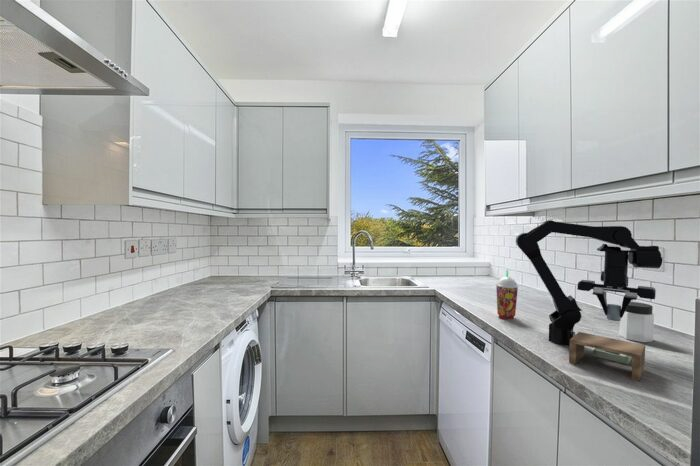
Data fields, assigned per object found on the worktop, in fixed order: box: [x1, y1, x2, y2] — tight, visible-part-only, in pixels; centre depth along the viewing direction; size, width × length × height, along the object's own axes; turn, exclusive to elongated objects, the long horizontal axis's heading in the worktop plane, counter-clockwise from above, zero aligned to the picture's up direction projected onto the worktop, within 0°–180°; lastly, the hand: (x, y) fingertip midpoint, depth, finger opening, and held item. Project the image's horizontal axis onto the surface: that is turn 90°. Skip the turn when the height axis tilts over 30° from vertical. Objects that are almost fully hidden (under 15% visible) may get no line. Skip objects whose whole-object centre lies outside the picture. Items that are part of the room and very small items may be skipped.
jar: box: [619, 301, 655, 343], centre depth 117 cm, size 9×8×12 cm
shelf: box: [568, 331, 646, 382], centre depth 92 cm, size 15×10×7 cm, turn 43°
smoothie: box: [495, 270, 519, 320], centre depth 142 cm, size 8×8×20 cm
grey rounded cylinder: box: [606, 303, 622, 322], centre depth 105 cm, size 3×3×4 cm
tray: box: [592, 348, 632, 365], centre depth 100 cm, size 8×12×3 cm, turn 133°
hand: (613, 316), depth 105 cm, fingers closed on grey rounded cylinder, 3 cm apart
